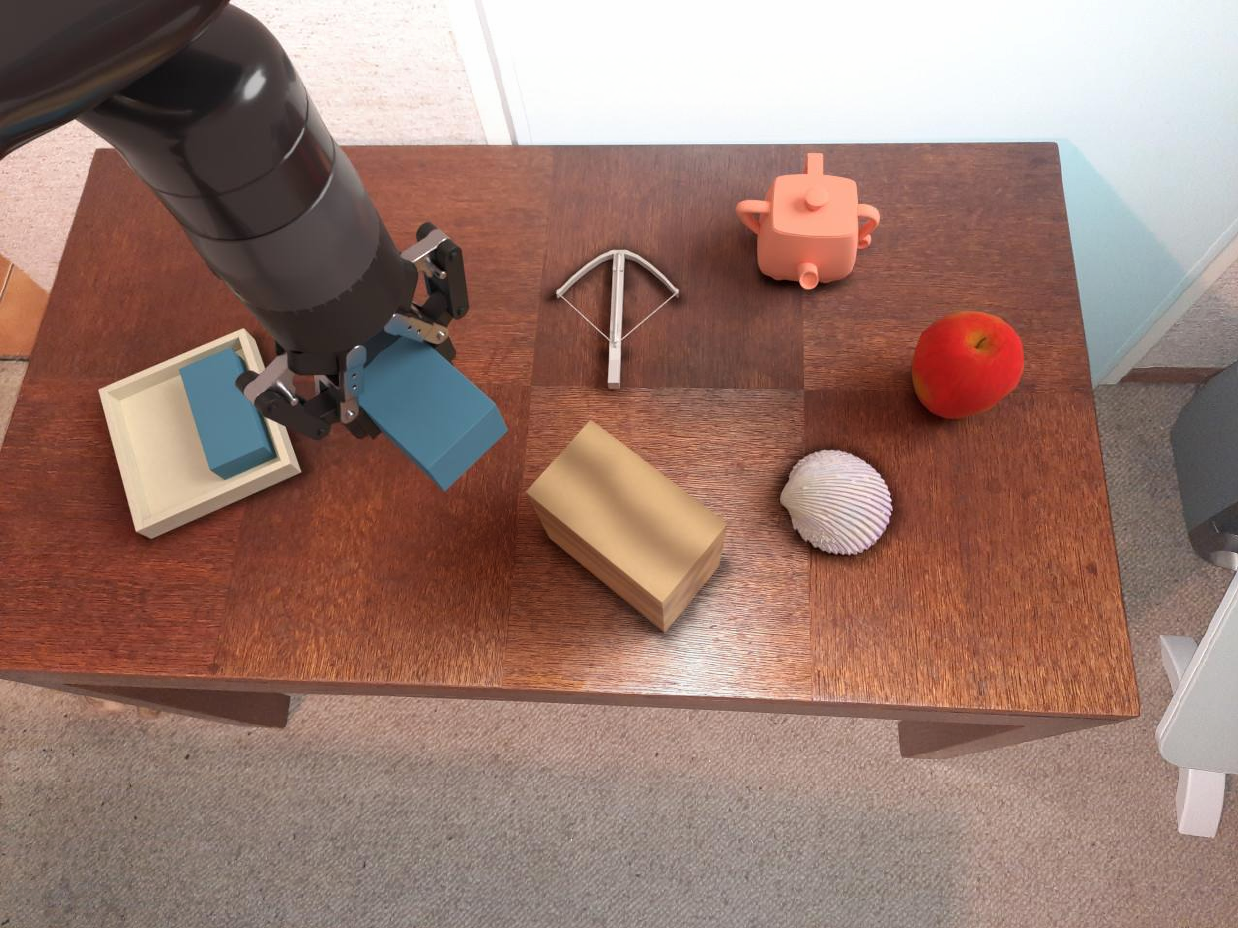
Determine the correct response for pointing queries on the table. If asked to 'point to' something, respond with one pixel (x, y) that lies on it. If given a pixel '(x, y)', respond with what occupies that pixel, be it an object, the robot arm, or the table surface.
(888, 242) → the table surface
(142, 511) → the cream tray
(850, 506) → the seashell
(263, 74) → the robot arm
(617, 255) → the crossbow
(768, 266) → the teapot
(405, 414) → the blue rectangular block
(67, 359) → the table surface
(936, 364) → the apple
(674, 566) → the tan wooden block
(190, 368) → the blue brick
